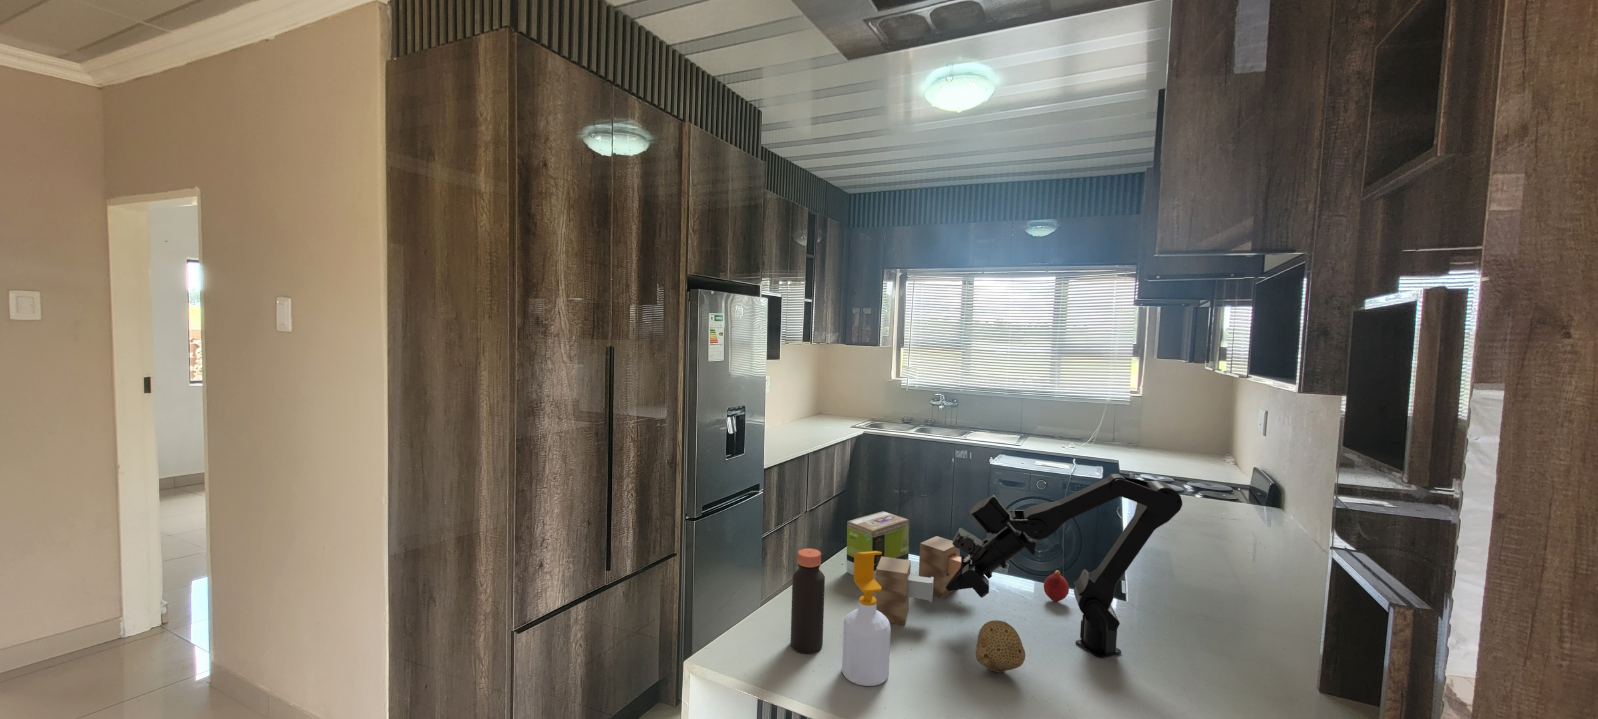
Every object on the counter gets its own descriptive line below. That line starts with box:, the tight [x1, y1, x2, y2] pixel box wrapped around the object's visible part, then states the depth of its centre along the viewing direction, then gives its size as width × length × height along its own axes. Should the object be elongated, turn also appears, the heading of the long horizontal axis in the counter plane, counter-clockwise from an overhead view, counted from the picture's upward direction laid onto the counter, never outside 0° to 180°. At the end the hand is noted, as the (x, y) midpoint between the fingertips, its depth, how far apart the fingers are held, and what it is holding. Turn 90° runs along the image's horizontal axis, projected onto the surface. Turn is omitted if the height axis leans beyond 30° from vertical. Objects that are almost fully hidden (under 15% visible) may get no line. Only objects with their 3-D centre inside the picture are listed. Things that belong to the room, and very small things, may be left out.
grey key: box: [907, 574, 934, 603], centre depth 139 cm, size 8×3×4 cm, turn 74°
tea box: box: [846, 510, 910, 581], centre depth 165 cm, size 15×10×15 cm, turn 130°
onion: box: [1043, 569, 1070, 603], centre depth 150 cm, size 6×6×8 cm
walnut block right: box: [918, 535, 961, 598], centre depth 155 cm, size 7×8×12 cm
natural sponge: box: [975, 619, 1026, 673], centre depth 118 cm, size 9×9×10 cm
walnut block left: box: [874, 557, 912, 626], centre depth 140 cm, size 7×8×12 cm
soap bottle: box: [841, 551, 892, 687], centre depth 116 cm, size 9×9×25 cm
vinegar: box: [790, 547, 826, 654], centre depth 125 cm, size 7×7×20 cm
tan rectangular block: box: [947, 554, 961, 575], centre depth 152 cm, size 8×3×4 cm, turn 46°
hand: (947, 588), depth 137 cm, fingers closed
